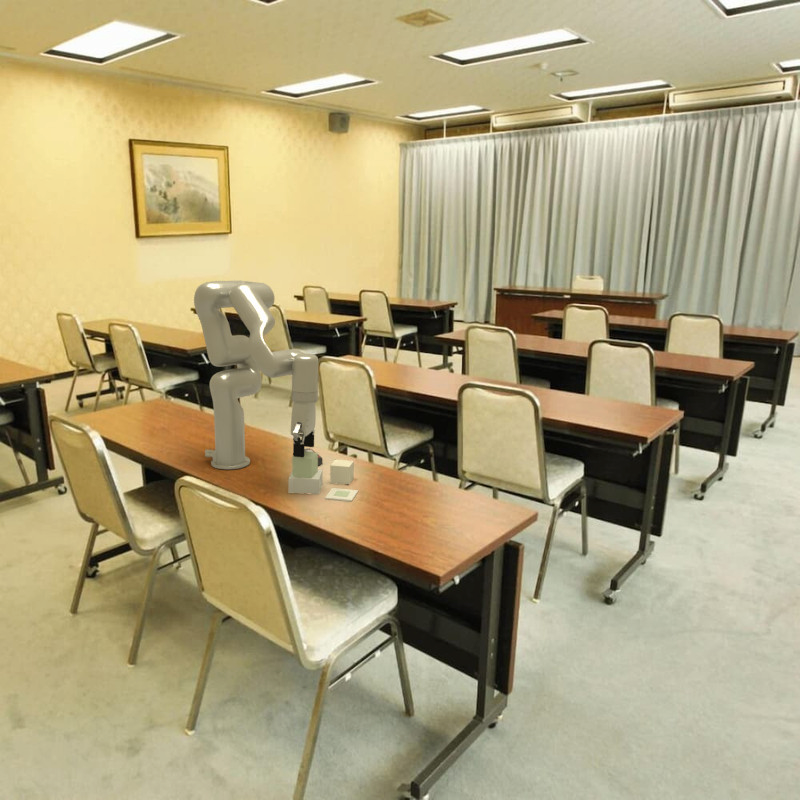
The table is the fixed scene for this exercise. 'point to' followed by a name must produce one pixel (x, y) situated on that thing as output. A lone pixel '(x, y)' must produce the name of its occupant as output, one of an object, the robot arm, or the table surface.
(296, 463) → the sage cube
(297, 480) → the base block
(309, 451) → the walkie-talkie
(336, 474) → the cream cube
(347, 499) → the card
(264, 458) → the table surface
